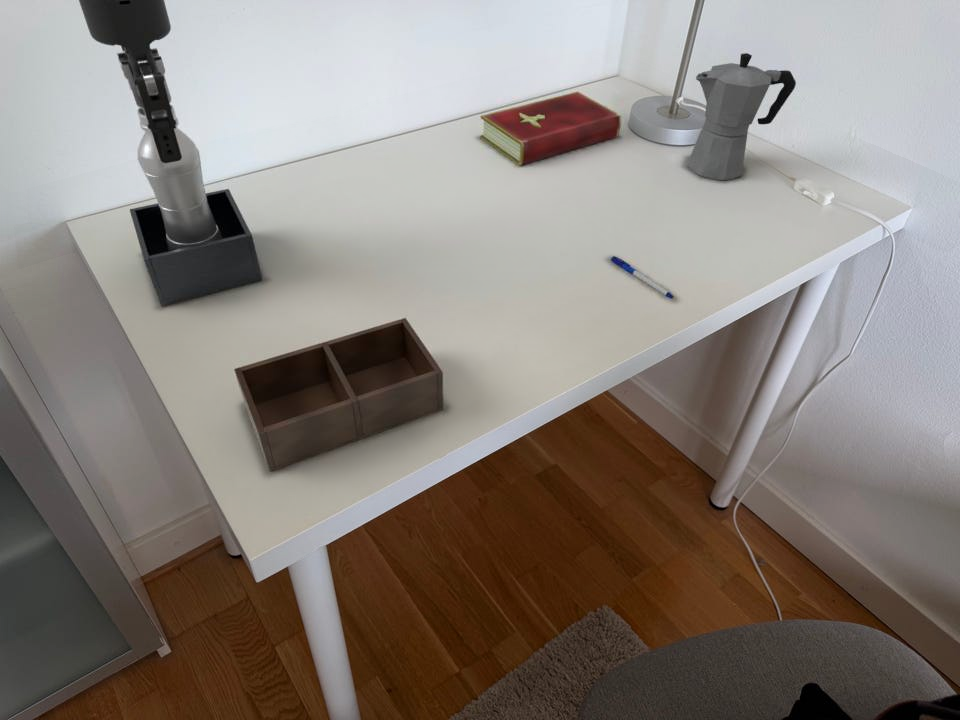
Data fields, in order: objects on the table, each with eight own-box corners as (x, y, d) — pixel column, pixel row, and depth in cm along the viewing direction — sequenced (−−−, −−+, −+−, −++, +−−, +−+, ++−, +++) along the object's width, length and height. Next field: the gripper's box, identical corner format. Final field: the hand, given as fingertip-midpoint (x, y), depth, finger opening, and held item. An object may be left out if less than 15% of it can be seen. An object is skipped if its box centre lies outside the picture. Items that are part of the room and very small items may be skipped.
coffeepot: (682, 181, 109) (712, 65, 96) (667, 154, 115) (693, 42, 103) (777, 181, 109) (818, 66, 97) (757, 154, 116) (793, 43, 104)
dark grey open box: (161, 306, 82) (143, 259, 78) (145, 254, 90) (129, 209, 86) (262, 280, 87) (251, 234, 82) (239, 233, 95) (228, 188, 90)
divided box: (269, 471, 65) (258, 434, 61) (245, 406, 71) (233, 368, 67) (443, 409, 71) (443, 372, 68) (407, 354, 77) (405, 317, 74)
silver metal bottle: (220, 278, 85) (176, 123, 72) (166, 276, 85) (112, 120, 72) (235, 249, 90) (196, 98, 77) (183, 247, 90) (136, 96, 77)
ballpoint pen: (608, 262, 92) (609, 255, 92) (613, 259, 93) (614, 253, 92) (670, 300, 86) (672, 293, 86) (674, 297, 87) (676, 291, 86)
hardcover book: (618, 137, 120) (622, 114, 117) (520, 166, 111) (522, 141, 108) (575, 112, 127) (578, 89, 124) (480, 137, 118) (480, 114, 115)
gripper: (68, -32, 69) (122, 129, 81) (81, 8, 60) (140, 183, 71) (147, -39, 72) (189, 118, 83) (171, -1, 63) (214, 169, 74)
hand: (166, 147), depth 77 cm, fingers closed on silver metal bottle, 6 cm apart
